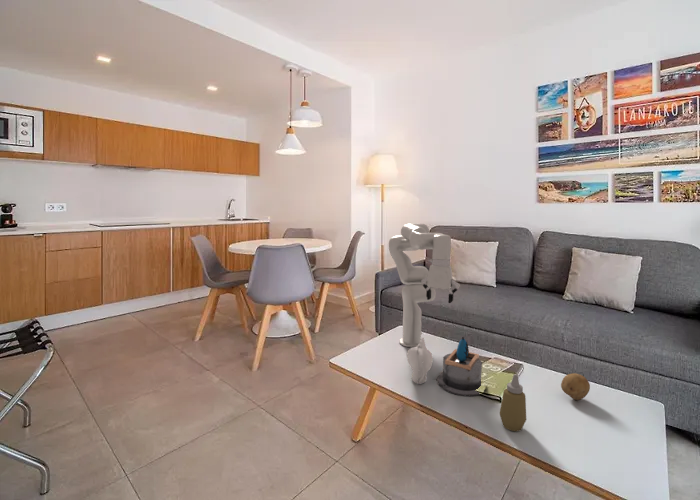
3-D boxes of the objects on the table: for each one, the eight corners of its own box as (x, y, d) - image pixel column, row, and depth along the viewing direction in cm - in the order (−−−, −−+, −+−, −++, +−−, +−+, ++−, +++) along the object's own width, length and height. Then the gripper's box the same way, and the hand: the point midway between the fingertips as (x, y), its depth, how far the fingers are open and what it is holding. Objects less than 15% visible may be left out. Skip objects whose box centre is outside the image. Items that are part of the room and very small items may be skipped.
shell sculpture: (417, 388, 142) (419, 345, 140) (405, 379, 149) (406, 338, 147) (433, 384, 146) (435, 341, 144) (421, 375, 153) (422, 335, 151)
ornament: (467, 365, 140) (468, 341, 139) (454, 363, 142) (456, 339, 141) (469, 357, 148) (470, 334, 146) (457, 355, 150) (458, 332, 148)
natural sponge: (569, 405, 131) (571, 380, 130) (555, 392, 140) (557, 368, 138) (593, 405, 131) (596, 380, 130) (578, 392, 140) (580, 368, 138)
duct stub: (445, 369, 159) (446, 344, 158) (490, 380, 149) (492, 354, 147) (430, 387, 143) (431, 360, 142) (479, 401, 133) (481, 372, 132)
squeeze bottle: (520, 419, 122) (523, 370, 120) (529, 435, 114) (533, 381, 112) (495, 418, 123) (498, 368, 121) (503, 433, 115) (506, 380, 113)
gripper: (419, 262, 158) (417, 299, 160) (458, 266, 149) (456, 305, 151) (425, 259, 164) (424, 296, 167) (463, 263, 155) (461, 301, 157)
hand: (439, 300), depth 159 cm, fingers open, 9 cm apart
